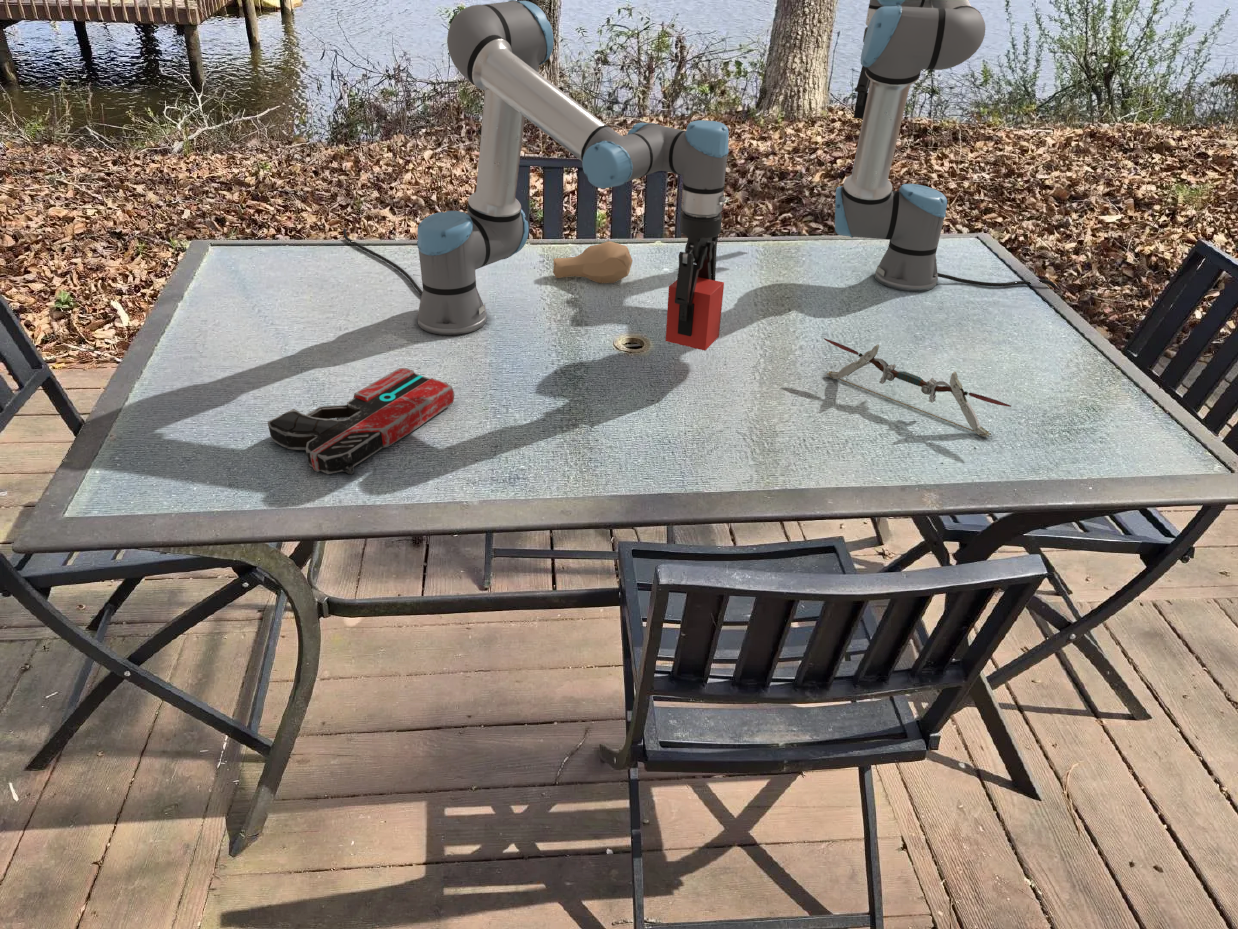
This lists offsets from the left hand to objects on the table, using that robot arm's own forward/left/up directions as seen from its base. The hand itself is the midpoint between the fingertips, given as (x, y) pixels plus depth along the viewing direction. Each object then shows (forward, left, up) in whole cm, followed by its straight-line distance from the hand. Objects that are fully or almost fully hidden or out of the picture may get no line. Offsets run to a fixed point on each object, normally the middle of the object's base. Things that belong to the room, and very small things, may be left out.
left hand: (692, 326), depth 173 cm
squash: (-50, +20, -11) cm, 55 cm away
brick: (0, 0, -3) cm, 3 cm away
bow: (+37, +22, -11) cm, 44 cm away
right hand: (-30, +102, +22) cm, 109 cm away
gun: (-25, -59, -11) cm, 65 cm away
